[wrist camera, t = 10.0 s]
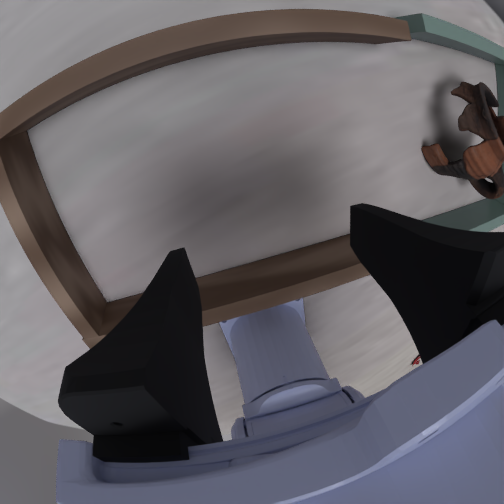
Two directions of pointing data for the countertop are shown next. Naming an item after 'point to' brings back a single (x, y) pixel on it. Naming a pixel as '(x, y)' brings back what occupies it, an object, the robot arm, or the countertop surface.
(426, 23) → the frame
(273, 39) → the brown wooden frame
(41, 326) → the countertop surface
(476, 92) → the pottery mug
